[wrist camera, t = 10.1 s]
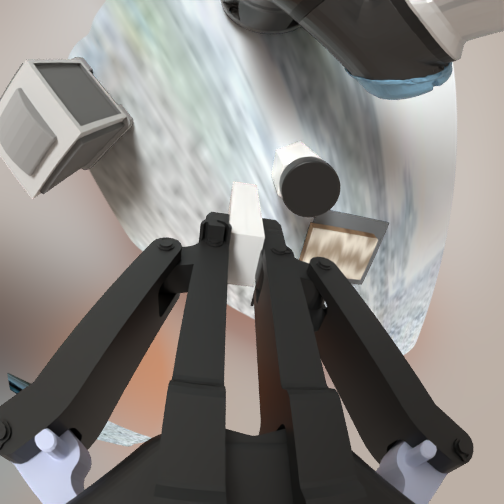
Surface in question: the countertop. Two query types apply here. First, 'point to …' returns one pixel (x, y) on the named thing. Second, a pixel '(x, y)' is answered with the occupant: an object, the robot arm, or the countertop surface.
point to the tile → (340, 248)
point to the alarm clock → (56, 122)
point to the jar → (304, 180)
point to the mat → (355, 224)
